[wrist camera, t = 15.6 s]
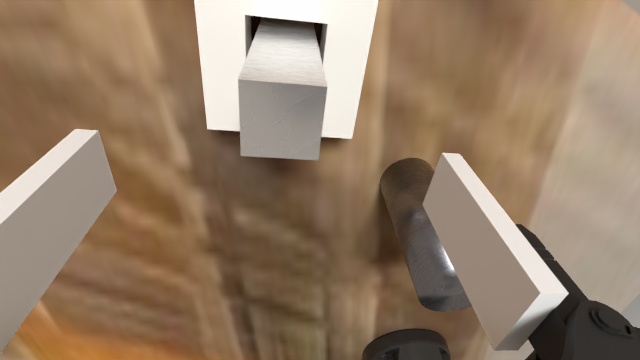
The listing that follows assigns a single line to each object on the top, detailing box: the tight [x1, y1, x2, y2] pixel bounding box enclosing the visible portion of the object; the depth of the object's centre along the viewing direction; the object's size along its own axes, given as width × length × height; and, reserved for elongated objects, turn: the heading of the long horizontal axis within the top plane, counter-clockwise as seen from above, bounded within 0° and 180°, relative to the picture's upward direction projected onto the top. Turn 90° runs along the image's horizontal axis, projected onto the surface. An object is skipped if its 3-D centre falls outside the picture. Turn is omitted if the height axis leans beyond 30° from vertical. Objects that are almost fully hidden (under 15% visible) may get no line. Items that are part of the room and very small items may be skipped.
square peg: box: [238, 17, 328, 160], centre depth 22 cm, size 4×4×14 cm
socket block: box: [194, 0, 378, 139], centre depth 26 cm, size 12×12×4 cm
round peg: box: [380, 158, 472, 312], centre depth 31 cm, size 6×6×14 cm
